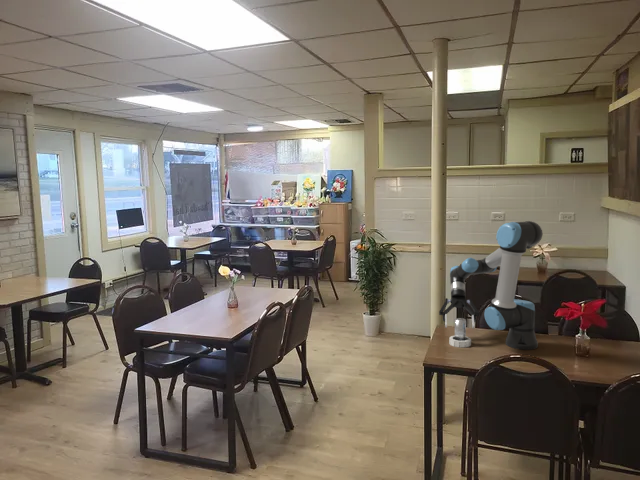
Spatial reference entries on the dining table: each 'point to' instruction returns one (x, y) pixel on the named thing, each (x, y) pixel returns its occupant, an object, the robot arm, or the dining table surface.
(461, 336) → the metal cylinder
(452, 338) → the socket
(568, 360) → the dining table surface
